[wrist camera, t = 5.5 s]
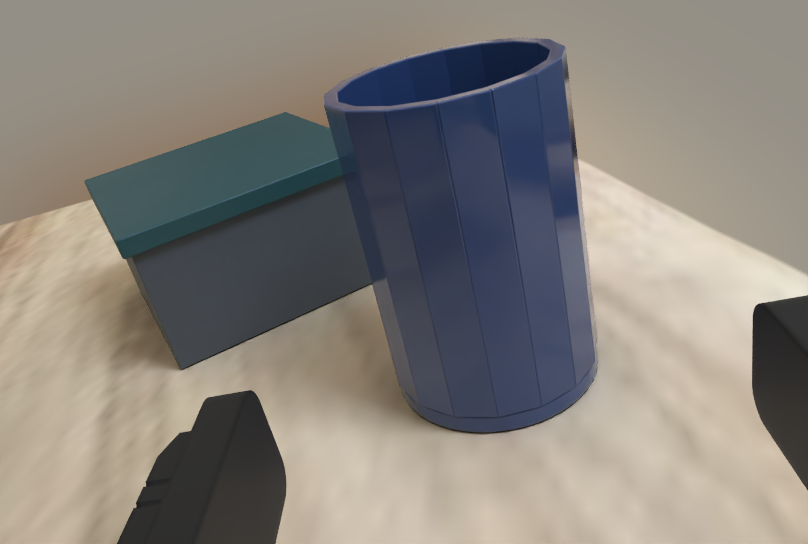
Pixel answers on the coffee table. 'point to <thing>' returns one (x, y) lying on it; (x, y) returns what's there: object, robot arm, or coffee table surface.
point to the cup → (473, 228)
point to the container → (235, 232)
